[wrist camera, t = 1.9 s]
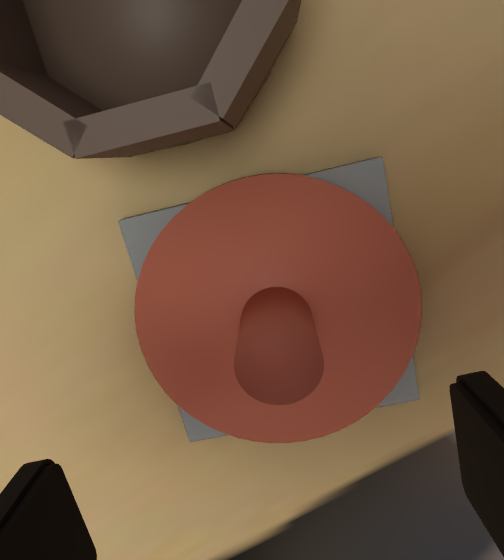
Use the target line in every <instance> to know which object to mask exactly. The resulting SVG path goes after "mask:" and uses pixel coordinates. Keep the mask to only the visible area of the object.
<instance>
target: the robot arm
mask: <svg viewBox="0 0 504 560" xmlns="http://www.w3.org/2000/svg"><path fill="white" fill-rule="evenodd" d="M450 396H451V403H452V411H453V418H454V426H455V433H456V440H457V447H458V455H459V462H460V470H461V478H462V483H463V487H464V491H465V493H466V495H467V498H468V499H469V501H470V503H471V504H472V506H473V508H474V509H475V511H476V513H477V514H478V516H479V517H480V519H481V521H482V522H483V524H484V526H485V527H486V529H487V530H488V532H489V534H490V535H491V537H492V538H493V540H494V542H495V543H496V545H497V547H498V548H499V550H500V552H501V553H502V555H503V556H504V388H503V387H502V386H501V385H500V384H499V383H498V382H496V381H495V380H494V379H493V378H492V377H491V376H490V375H489V374H488V373H487V372H485V371H479V372H474V373H469V374H464V375H460V376H458V377H457V379H456V383H454V384H451V385H450ZM0 560H97V554H96V549H95V546H94V544H93V542H92V539H91V537H90V534H89V532H88V530H87V527H86V525H85V522H84V520H83V518H82V515H81V513H80V511H79V508H78V506H77V503H76V501H75V499H74V496H73V494H72V491H71V489H70V487H69V484H68V482H67V479H66V477H65V475H64V472H63V470H62V468H61V466H60V465H59V464H55V463H54V462H53V461H52V460H50V459H45V460H40V461H35V462H30V463H26V464H24V465H23V466H22V467H21V468H20V469H19V470H18V472H17V473H16V474H15V475H14V477H13V478H12V479H11V481H10V482H9V483H8V484H7V486H6V487H5V488H4V490H3V491H2V492H1V494H0Z"/></svg>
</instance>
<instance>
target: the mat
mask: <svg viewBox="0 0 504 560" xmlns="http://www.w3.org/2000/svg"><path fill="white" fill-rule="evenodd" d="M304 176H308V177H312V178H316V179H321V180H323V181H326V182H329V183H331V184H334V185H336V186H339V187H341V188H343V189H345V190H347V191H349V192H350V193H352V194H354V195H356V196H358V197H359V198H361V199H362V200H364V201H365V202H366V203H368V204H369V205H370V206H372V207H373V208H374V209H376V210H377V211H378V212H379V213H380V214H381V215H382V216H383V217H384V218H385V219H386V220H387V221H388V222H389V223H390V224H391V226H392V227H393V221H392V215H391V208H390V201H389V195H388V188H387V182H386V175H385V169H384V162H383V157H375V158H371V159H367V160H363V161H359V162H355V163H350V164H346V165H342V166H338V167H334V168H330V169H326V170H322V171H317V172H313V173H309V174H305V175H304ZM190 203H191V202H190ZM188 204H189V203H186V204H181V205H177V206H173V207H169V208H165V209H161V210H157V211H153V212H149V213H144V214H140V215H136V216H132V217H128V218H124V219H121V220H119V221H118V222H119V225H120V228H121V231H122V234H123V238H124V241H125V244H126V247H127V250H128V253H129V256H130V259H131V262H132V265H133V268H134V272H135V275H136V278H137V281H138V278H139V275H140V272H141V269H142V265H143V263H144V260H145V258H146V256H147V254H148V252H149V250H150V248H151V246H152V244H153V243H154V241H155V240H156V238H157V237H158V235H159V234H160V232H161V231H162V230H163V228H164V227H165V226H166V225H167V224H168V223H169V221H170V220H171V219H172V218H173V217H174V216H175V215H176V214H177V213H179V212H180V211H181V210H182V209H183V208H184V207H185V206H187V205H188ZM419 399H420V398H419V391H418V385H417V378H416V372H415V365H414V358H413V355H412V358H411V361H410V363H409V364H408V366H407V368H406V370H405V372H404V374H403V376H402V377H401V379H400V380H399V381H398V383H397V384H396V386H395V387H394V388H393V390H392V391H391V392H390V393H389V394H388V395H387V396H386V397H385V398H384V400H383V401H382V402H381V403H380V404H378V405H377V406H376V407H381V406H387V405H392V404H398V403H403V402H408V401H414V400H419ZM178 407H179V410H180V413H181V417H182V420H183V423H184V426H185V429H186V432H187V435H188V438H189V441H190V442H193V441H199V440H204V439H209V438H215V437H220V436H225V435H228V434H225V433H222V432H220V431H218V430H215V429H213V428H211V427H209V426H207V425H205V424H203V423H202V422H200V421H199V420H197V419H195V418H194V417H192V416H191V415H190V414H188V413H187V412H186V411H185V410H183V409H182V408H181V407H180V406H178ZM376 407H375V408H376Z"/></svg>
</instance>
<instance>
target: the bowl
mask: <svg viewBox="0 0 504 560" xmlns="http://www.w3.org/2000/svg"><path fill="white" fill-rule="evenodd" d="M300 3H301V0H0V115H2V116H3V117H5V118H7V119H8V120H10V121H12V122H13V123H15V124H17V125H18V126H20V127H22V128H23V129H25V130H27V131H28V132H30V133H32V134H33V135H35V136H37V137H38V138H40V139H42V140H43V141H45V142H47V143H48V144H50V145H52V146H53V147H55V148H57V149H58V150H60V151H62V152H63V153H65V154H66V155H68V156H70V157H71V158H76V159H80V158H112V157H132V156H136V155H139V154H143V153H147V152H151V151H155V150H159V149H163V148H167V147H174V146H179V145H185V144H188V143H191V142H194V141H197V140H200V139H203V138H206V137H210V136H213V135H217V134H221V133H225V132H229V131H233V130H234V128H237V126H238V124H239V122H240V121H241V119H242V117H243V115H244V113H245V112H246V110H247V108H248V106H249V105H250V103H251V101H252V100H253V99H254V98H255V97H256V95H257V94H258V92H259V90H260V89H261V87H262V86H263V84H264V83H265V81H266V79H267V77H268V75H269V73H270V71H271V69H272V67H273V65H274V62H275V60H276V57H277V55H278V54H279V52H280V50H281V48H282V47H283V45H284V43H285V41H286V39H287V38H288V36H289V34H290V32H291V31H292V29H293V27H294V25H295V24H296V22H297V17H298V13H299V8H300ZM233 127H234V128H233Z"/></svg>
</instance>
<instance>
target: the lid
mask: <svg viewBox="0 0 504 560" xmlns="http://www.w3.org/2000/svg"><path fill="white" fill-rule="evenodd" d="M421 314H422V303H421V290H420V285H419V281H418V276H417V272H416V269H415V267H414V264H413V261H412V258H411V256H410V254H409V252H408V250H407V248H406V247H405V245H404V243H403V241H402V239H401V238H400V236H399V235H398V234H397V232H396V231H395V230H394V228H393V227H392V226H391V224H390V223H389V222H388V221H387V220H386V219H385V218H384V217H383V216H382V215H381V214H380V213H379V212H378V211H377V210H376V209H374V208H373V207H372V206H370V205H369V204H368V203H366V202H365V201H364V200H362V199H361V198H359V197H358V196H356V195H354V194H352V193H350V192H349V191H347V190H345V189H343V188H341V187H339V186H336V185H334V184H331V183H329V182H326V181H323V180H321V179H316V178H312V177H308V176H304V175H296V174H285V173H276V174H260V175H254V176H248V177H243V178H240V179H237V180H234V181H230V182H227V183H224V184H222V185H220V186H218V187H216V188H214V189H212V190H210V191H207V192H206V193H204V194H203V195H201V196H200V197H198V198H197V199H195V200H194V201H192V202H191V203H189V204H188V205H187V206H185V207H184V208H183V209H182V210H181V211H180V212H179V213H177V214H176V215H175V216H174V217H173V218H172V219H171V220H170V221H169V223H168V224H167V225H166V226H165V227H164V228H163V230H162V231H161V232H160V234H159V235H158V237H157V238H156V240H155V241H154V243H153V244H152V246H151V248H150V250H149V252H148V254H147V256H146V258H145V260H144V263H143V265H142V269H141V272H140V275H139V278H138V283H137V289H136V295H135V322H136V330H137V335H138V339H139V343H140V347H141V350H142V353H143V355H144V357H145V360H146V362H147V365H148V367H149V368H150V370H151V372H152V373H153V375H154V377H155V379H156V380H157V382H158V383H159V384H160V386H161V387H162V388H163V390H164V391H165V392H166V393H167V394H168V395H169V397H170V398H171V399H172V400H173V401H174V402H175V403H176V404H177V405H178V406H180V407H181V408H182V409H183V410H185V411H186V412H187V413H188V414H190V415H191V416H192V417H194V418H195V419H197V420H199V421H200V422H202V423H203V424H205V425H207V426H209V427H211V428H213V429H215V430H218V431H220V432H222V433H225V434H228V435H231V436H234V437H237V438H241V439H246V440H251V441H257V442H267V443H290V442H298V441H306V440H310V439H314V438H318V437H322V436H325V435H328V434H330V433H333V432H336V431H338V430H340V429H342V428H344V427H346V426H348V425H350V424H352V423H354V422H356V421H357V420H359V419H360V418H362V417H363V416H365V415H366V414H368V413H369V412H370V411H371V410H373V409H374V408H375V407H376V406H377V405H378V404H380V403H381V402H382V401H383V400H384V398H385V397H386V396H387V395H388V394H389V393H390V392H391V391H392V390H393V388H394V387H395V386H396V384H397V383H398V381H399V380H400V379H401V377H402V376H403V374H404V372H405V370H406V368H407V366H408V364H409V363H410V361H411V358H412V355H413V353H414V350H415V347H416V345H417V341H418V336H419V331H420V327H421Z"/></svg>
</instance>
